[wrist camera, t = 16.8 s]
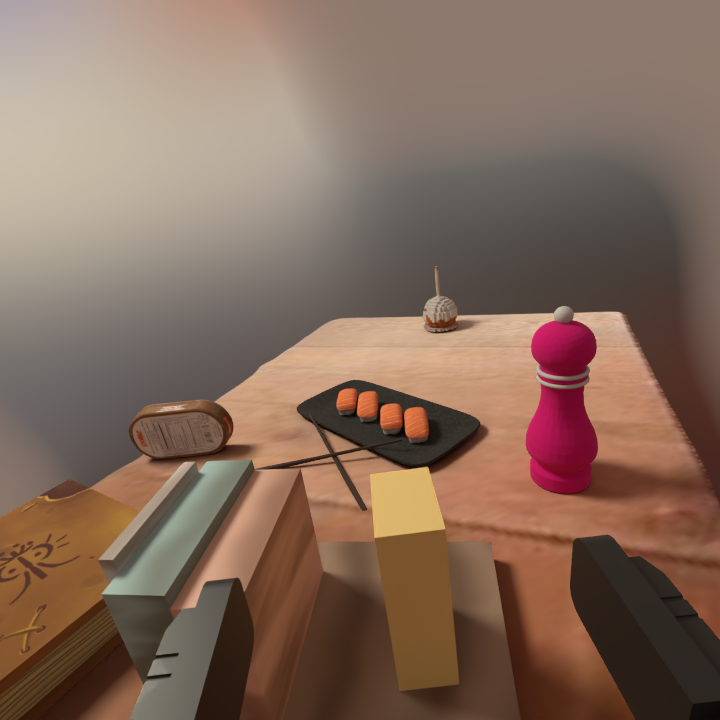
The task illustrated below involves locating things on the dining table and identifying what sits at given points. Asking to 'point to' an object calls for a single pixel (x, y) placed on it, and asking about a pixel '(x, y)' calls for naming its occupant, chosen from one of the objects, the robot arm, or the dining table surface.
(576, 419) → the pepper mill
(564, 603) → the dining table surface
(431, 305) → the caramel apple
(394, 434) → the sushi plate
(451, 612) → the tall mustard yellow pillar
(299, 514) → the blocks on base plate
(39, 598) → the diary
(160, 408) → the tin
